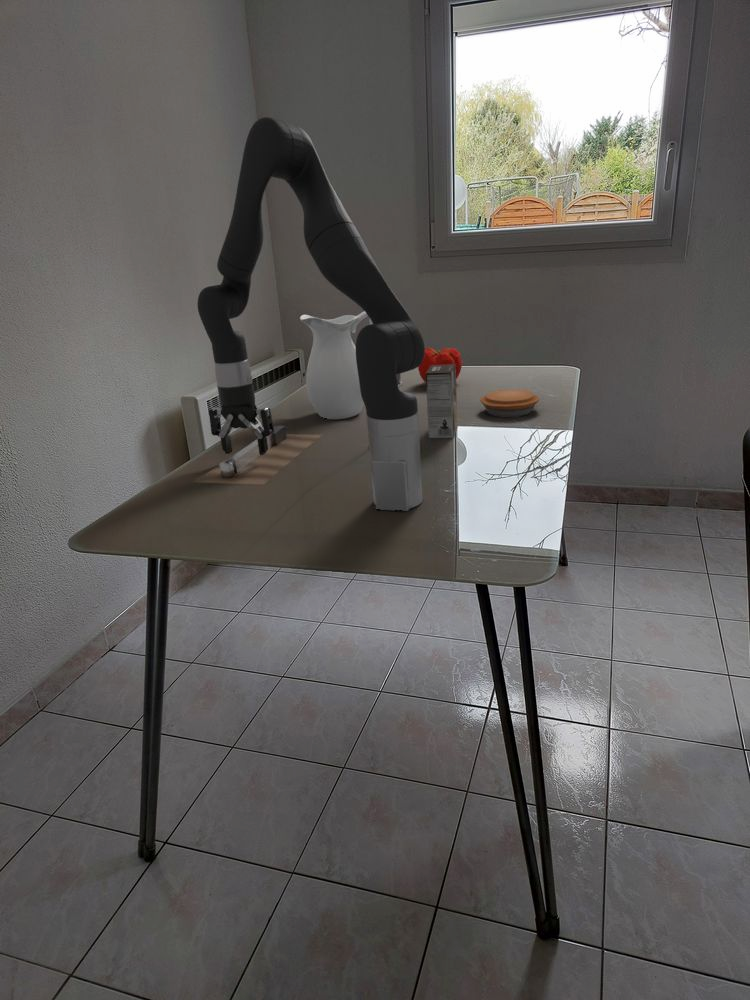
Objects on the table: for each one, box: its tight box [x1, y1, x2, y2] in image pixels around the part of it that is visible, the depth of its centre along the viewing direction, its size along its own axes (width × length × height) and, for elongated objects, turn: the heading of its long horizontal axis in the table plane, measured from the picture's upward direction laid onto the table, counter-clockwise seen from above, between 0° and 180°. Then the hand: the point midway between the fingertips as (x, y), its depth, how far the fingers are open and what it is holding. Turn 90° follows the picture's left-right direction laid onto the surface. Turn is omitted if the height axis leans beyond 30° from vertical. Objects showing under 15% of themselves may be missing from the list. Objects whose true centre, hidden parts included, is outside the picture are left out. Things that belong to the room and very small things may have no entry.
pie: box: [479, 389, 540, 418], centre depth 177 cm, size 15×16×5 cm
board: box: [194, 433, 323, 486], centre depth 153 cm, size 34×16×2 cm, turn 163°
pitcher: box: [299, 310, 369, 420], centre depth 184 cm, size 24×17×28 cm
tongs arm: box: [231, 425, 287, 473], centre depth 154 cm, size 25×2×3 cm, turn 164°
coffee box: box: [425, 364, 459, 439], centre depth 162 cm, size 9×6×16 cm
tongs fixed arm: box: [219, 425, 279, 479], centre depth 153 cm, size 28×3×3 cm, turn 163°
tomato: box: [417, 347, 463, 384], centre depth 211 cm, size 13×14×12 cm
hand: (246, 453), depth 149 cm, fingers open, 8 cm apart
